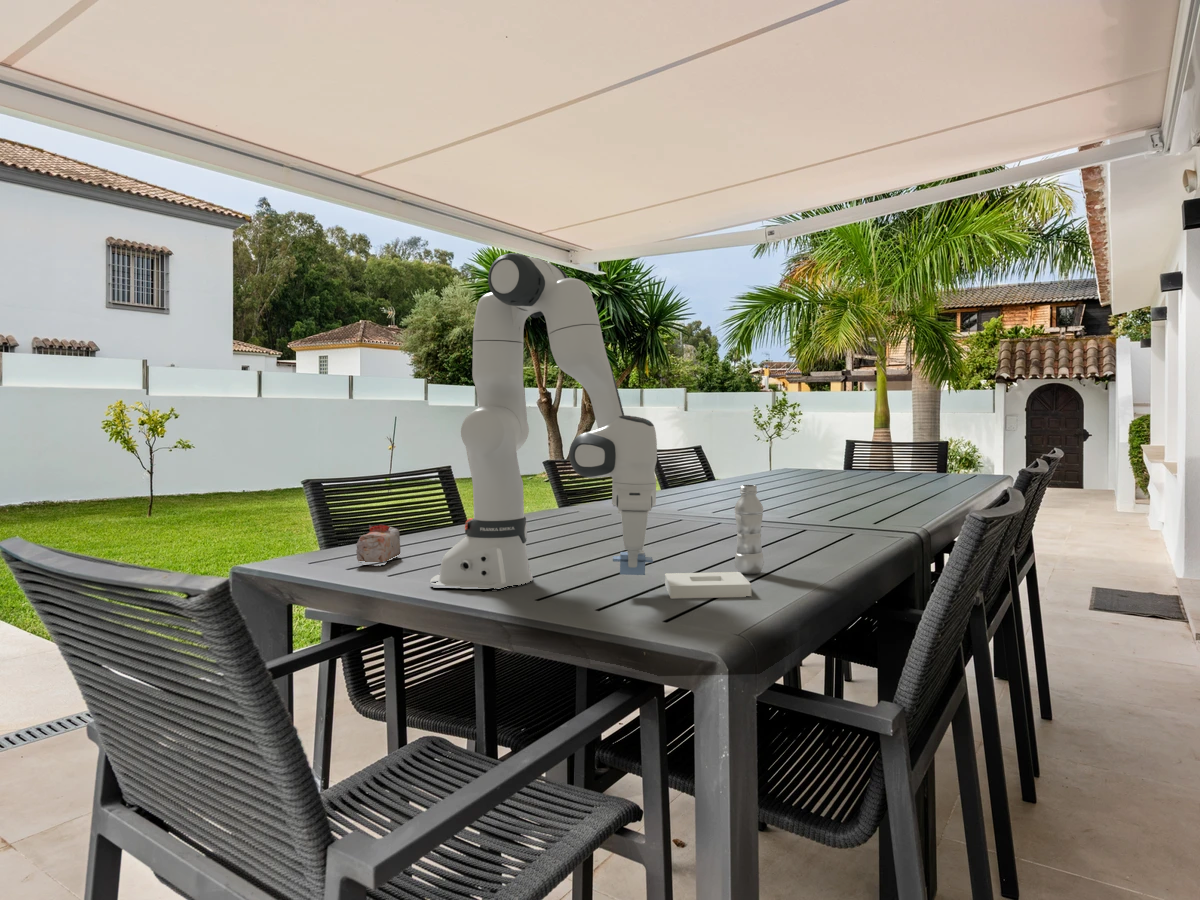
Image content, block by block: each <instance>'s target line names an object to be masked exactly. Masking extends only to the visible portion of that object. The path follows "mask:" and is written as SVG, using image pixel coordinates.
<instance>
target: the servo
mask: <svg viewBox="0 0 1200 900" xmlns="http://www.w3.org/2000/svg"><path fill="white" fill-rule="evenodd" d="M612 562H617V563H618V562H619V575H622V576H624V575H626V576H627V575H628V576H629V575H631V576H632V575H633V576H645V575H646V563H653V562H654V559H653V557H652V556H646V552H645V550H643V549H642V550H638V558H637V567H635V568H632V567H629V566H628V551H620V555H614V556H612Z"/></svg>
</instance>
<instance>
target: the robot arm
mask: <svg viewBox="0 0 1200 900" xmlns="http://www.w3.org/2000/svg"><path fill="white" fill-rule="evenodd" d="M487 276H488V277H487V284H488V288H489V289H490V290H489V291H490V292H487V293H486V294H484V295H482V296H481V297H480V298H479V300H478V302H477V305H476V310H475V315H474V320H473V321H474V322H473V331H472V332H473V334H472V371H471V372H472V373H471V374H472V380H473V381H472V382H473V383H474V385H475V391H476V397H477V403H478V408H476V409H474V410H473V411H471V412H470V413H469V414H467V415H466V417H465V418H464V419H463V422H462V424H461V428H460V437H461V439H462V443H463V444H464V447H465V449H466V456H467V462H468V466H469V470H470V476H471V481H472V495H473V496H472V498H473V501H472V502H473V518H472V517H471V518H470V517H469V518H468V519H467V520H466V521H465V523H464V532H465V533H464V534H465V535H466V536H465V537H463V538H462V539H461V540H459V541H458V542H457V543H456V544H454V546H453V547H451V548H450V549H449V550H448V551H447V552H445V554H444V555H443V557H442V559H441V563H440V569H439V574H440V575H439V574H438V573H437V574H436V575H434V576H433V577H431V578H430V580H429V584H430V583H431V582H433V581H438V582H436V583H431V584H433V585H445V586H460V587H478V588H494V589H495V588H503V587H507V586H512V587H514V586H513V585H518V586H522V585H525V583H526V584H529V583H531V582H532V581H533V580H534V577H533V574H532V571H531V568H530V564H529V559H528V558H529V557H528V553H527V541H528V540H527V539H528V522H527V518H526V516H525V508H524V507H525V504H524V502H525V501H524V499H525V498H524V482H523V478H522V474H521V471H520V465H519V460H518V455H517V451H519V450H520V449H521V448H522V447H523V446H524V444H525V443H526V441H527V439H528V437H529V432H530V428H529V424H528V415H527V414H528V413H527V403H526V396H525V395H526V394H525V388H524V386H525V385H524V329H525V323H526V320H527V319H528V318H529V317H531V318H533V319H537V318H540V317H542V316H544V320H545V323H546V329H547V336H548V341H549V348H550V351H551V353H552V357H553V359H554V362H555V363H556V365H557V367H558V368H559V369H560V370H561V371H562V372H564V373H565V374H566V375H567V376H570V378H571V377H572V379H574V380H575V381H576V382H577V383H579V384H580V385H581V386H582V387H583V388H584V390H585V391H586V394H587V395H588V397H589V399H590V402H591V406H592V410H593V415H594V419H595V422H596V426H597V429H593V430H590V431H586V432H583V433H580V434H579V435H577V436H576V437H575V438H574V439H573V440H572V443H570V447H569V453H568V454H569V455H568V458H569V459H568V460H569V463H570V465H571V468H572V469H573V470H574V472H576V474H578V475H579V476H581V477H585V478H589V479H598V478H600V479H601V478H606V477H607V478H608V477H611V479H612V480H611V481H612V487H611V488H612V489H611V490H612V491H611V492H612V496H611V504H612V505H613V506H615V507H616V508H617V513H618V514H619V515H620V519H621V520H620V521H621V530H622V539H623V540H622V541H623V546H624V550H626V551H627V552H628V566H629V567H632V568H635V567H637V558H638V550H643V549H644V546H645V542H646V541H645V540H646V534H647V527H648V517H649V514H650V511H652V508H653V507H655V506H656V504H657V478H656V473H655V469H656V466H657V461H658V446H657V445H658V443H657V442H658V441H657V440H658V439H657V432H656V428H655V425H654V423H653V422H652V421H650V420H649V419H647V418H643V417H639V416H633V415H626V414H625V413H624V409H623V404H622V400H621V398H620V393H619V390H618V386H617V385H618V384H617V382H616V379H615V376H614V372H613V370H612V367H611V365H610V360H609V359H608V355H607V350H606V347H605V342H604V337H603V333H602V328H601V322H600V317H599V314H598V309H597V307H596V302H595V300H594V298H593V295H592V292H591V289H590V287H589V285H588V284H586V282H584V281H583V280H581V279H578V278H573V277H569V276H568V274H566V272H565V271H564V270H563V269H562V268H560V267H559V266H557V265H556V264H551V263H550V262H548V261H547V260H543V259H541V258H538V257H533V256H526V255H525V254H522V253H518V252H517V253H515V252H513V253H511V252H510V253H506V254H502V255H500V256H499V257H497V258H496V259H495V260H494V261H493V263H492V264H491V266H490V267H489V270H488V275H487ZM530 581H531V582H530ZM521 584H522V585H521ZM507 588H508V587H507Z"/></svg>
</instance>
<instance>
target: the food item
mask: <svg viewBox="0 0 1200 900" xmlns="http://www.w3.org/2000/svg"><path fill="white" fill-rule="evenodd" d="M368 530H369V532H368V533H366V534H363V535H360V537H359V539H358V540H357V543H355V546H356V550H355V551H356V560H357V561H358V562H359V561H365V562H383V561H387V560H389V559H391V558H393V557H395V556H397V555H399V554H400V553H401V542H400V541H401V538H400V535H401V534H400V529H399V528H396V527H392V526H388V525H384V524H383V523H380V524H379V525H372V524H369V525H368ZM400 555H401V554H400Z"/></svg>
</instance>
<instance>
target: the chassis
mask: <svg viewBox="0 0 1200 900" xmlns="http://www.w3.org/2000/svg"><path fill="white" fill-rule="evenodd" d="M664 586H665V589H666V590H667V593H668V596H669V598H670V599H711V598H712V599H713V598H716V599H717V598H718V599H719V598H747V597H746V596H751V597H752V583H751V582H750V581H749V580H748V579H747V578H746V577H745V575H743V573H741V572H738V571H722V572H721V571H720V572H719V571H718V572H717V571H715V572H677V573H676V572H673V573H672V572H671V573H670V572H669V573H668V572H666V573H664Z"/></svg>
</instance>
